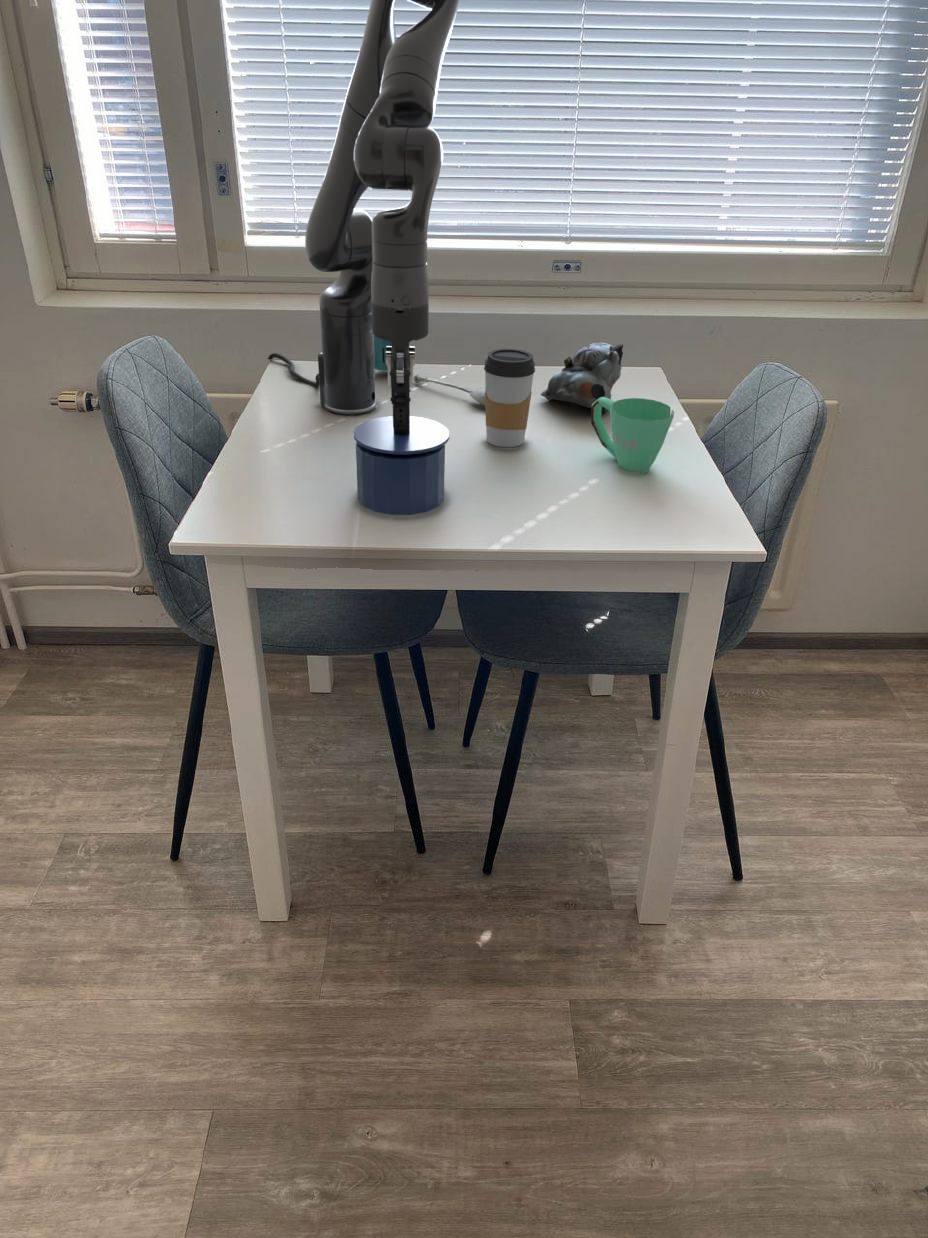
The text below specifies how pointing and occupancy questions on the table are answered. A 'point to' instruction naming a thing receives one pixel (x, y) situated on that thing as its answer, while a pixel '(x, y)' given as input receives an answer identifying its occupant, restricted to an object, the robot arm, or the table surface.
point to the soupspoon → (475, 394)
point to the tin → (400, 481)
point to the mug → (633, 430)
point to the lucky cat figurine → (587, 375)
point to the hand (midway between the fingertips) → (401, 424)
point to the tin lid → (401, 435)
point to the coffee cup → (507, 395)
